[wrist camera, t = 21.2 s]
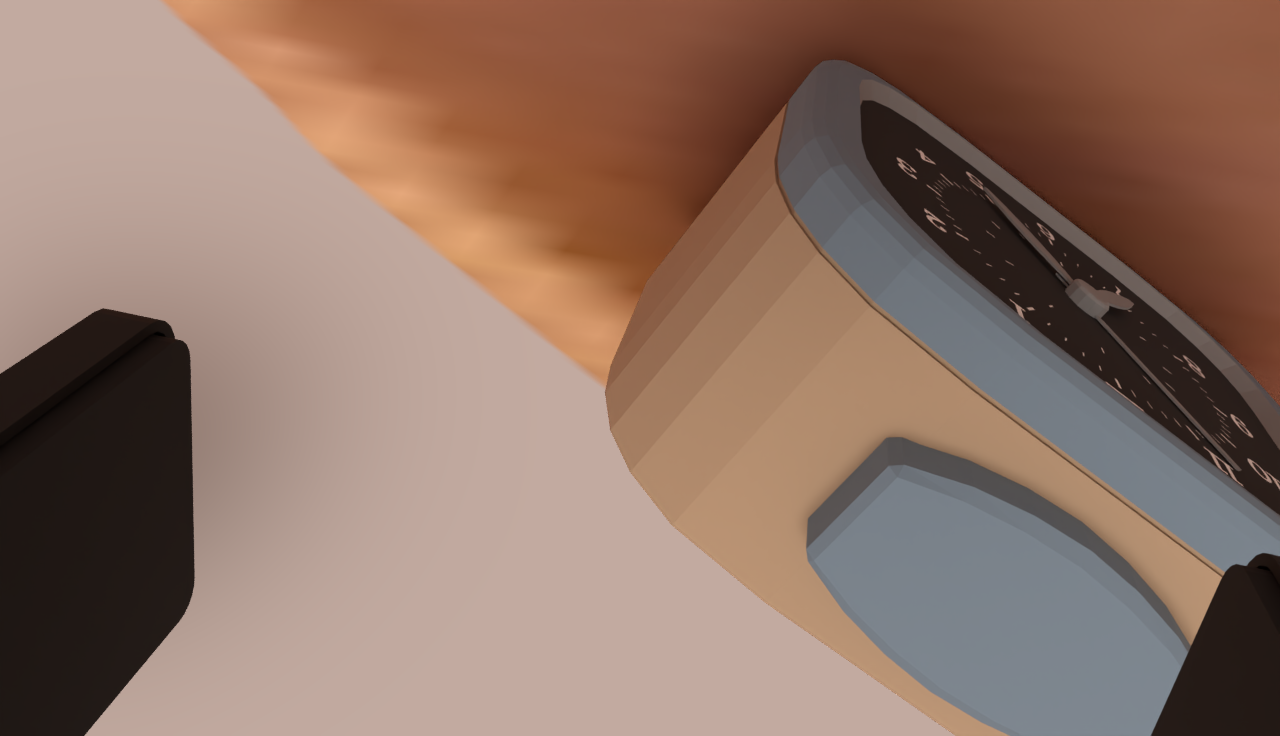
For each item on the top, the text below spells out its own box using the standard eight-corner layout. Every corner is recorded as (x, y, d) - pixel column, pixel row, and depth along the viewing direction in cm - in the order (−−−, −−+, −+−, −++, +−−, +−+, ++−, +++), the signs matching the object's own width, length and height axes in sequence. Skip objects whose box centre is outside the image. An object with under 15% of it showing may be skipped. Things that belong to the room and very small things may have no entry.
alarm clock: (1244, 348, 46) (1531, 735, 27) (1065, 508, 50) (1203, 945, 31) (826, 21, 43) (809, 186, 24) (674, 218, 47) (554, 495, 28)
